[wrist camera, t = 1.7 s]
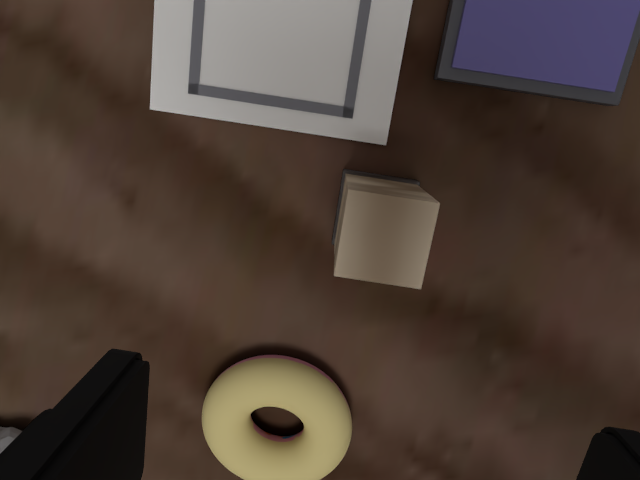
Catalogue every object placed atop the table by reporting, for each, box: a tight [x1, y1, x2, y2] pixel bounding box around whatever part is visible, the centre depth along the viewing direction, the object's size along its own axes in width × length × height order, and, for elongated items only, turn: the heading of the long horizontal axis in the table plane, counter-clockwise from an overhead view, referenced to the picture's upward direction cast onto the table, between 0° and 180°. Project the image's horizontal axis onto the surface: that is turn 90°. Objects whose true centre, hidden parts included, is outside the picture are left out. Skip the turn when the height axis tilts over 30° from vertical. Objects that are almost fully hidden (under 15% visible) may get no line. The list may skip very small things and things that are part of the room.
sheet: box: [150, 0, 413, 145], centre depth 24 cm, size 14×12×1 cm
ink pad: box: [434, 0, 640, 106], centre depth 24 cm, size 10×8×1 cm
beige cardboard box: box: [332, 169, 440, 289], centre depth 24 cm, size 4×4×7 cm
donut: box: [202, 355, 352, 480], centre depth 30 cm, size 10×5×9 cm
